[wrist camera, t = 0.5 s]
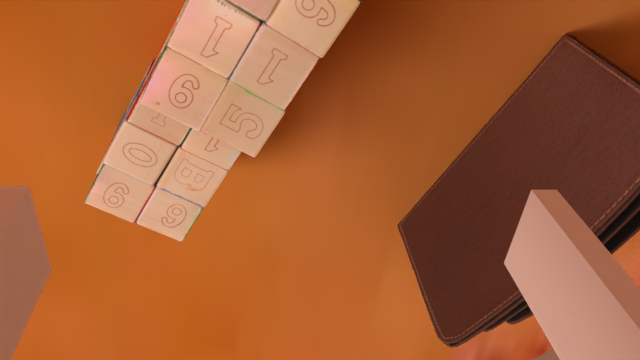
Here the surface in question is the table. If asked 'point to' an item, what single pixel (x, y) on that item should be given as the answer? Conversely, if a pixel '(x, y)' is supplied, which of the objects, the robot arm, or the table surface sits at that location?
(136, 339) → the table surface
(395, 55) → the table surface
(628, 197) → the letter holder
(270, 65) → the stack of blocks
